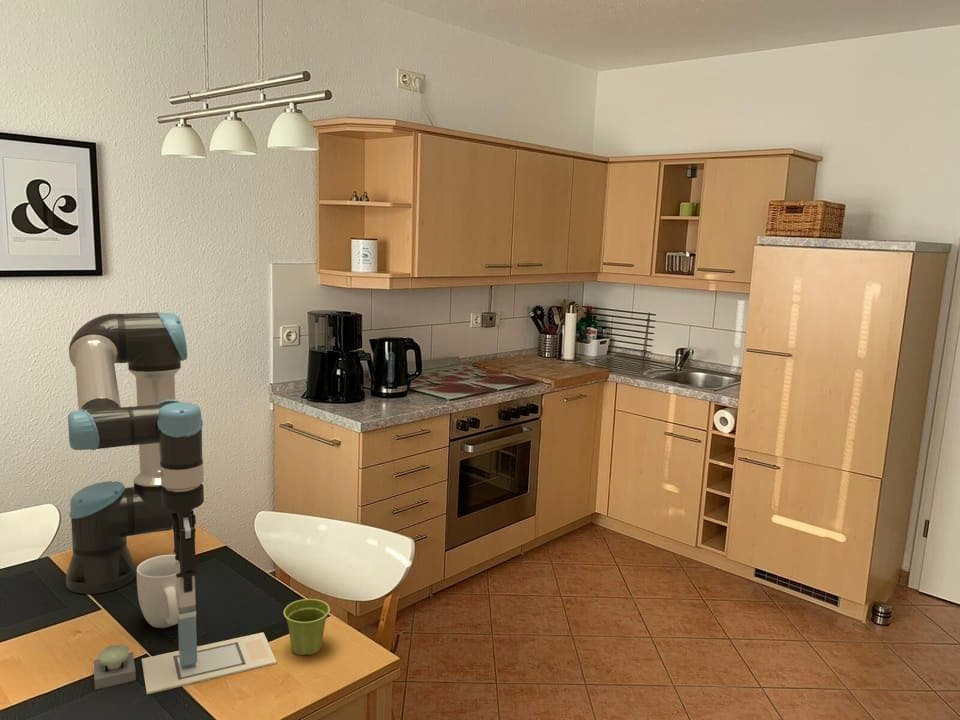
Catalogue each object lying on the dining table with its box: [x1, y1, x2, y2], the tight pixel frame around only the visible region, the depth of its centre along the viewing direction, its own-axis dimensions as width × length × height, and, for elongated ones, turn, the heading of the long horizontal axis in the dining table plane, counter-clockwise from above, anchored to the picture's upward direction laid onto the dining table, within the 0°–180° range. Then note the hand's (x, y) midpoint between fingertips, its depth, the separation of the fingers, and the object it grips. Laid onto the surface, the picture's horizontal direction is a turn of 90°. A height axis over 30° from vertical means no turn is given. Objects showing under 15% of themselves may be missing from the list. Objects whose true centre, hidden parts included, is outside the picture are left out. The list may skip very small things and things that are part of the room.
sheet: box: [141, 631, 278, 695], centre depth 150 cm, size 12×24×1 cm, turn 118°
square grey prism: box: [177, 605, 198, 669], centre depth 147 cm, size 3×3×12 cm
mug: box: [136, 554, 180, 629], centre depth 162 cm, size 15×11×13 cm
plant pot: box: [283, 598, 331, 656], centre depth 155 cm, size 9×9×9 cm
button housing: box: [93, 651, 137, 691], centre depth 144 cm, size 7×7×2 cm
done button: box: [98, 644, 130, 671], centre depth 144 cm, size 5×5×4 cm
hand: (185, 598), depth 145 cm, fingers open, 5 cm apart
